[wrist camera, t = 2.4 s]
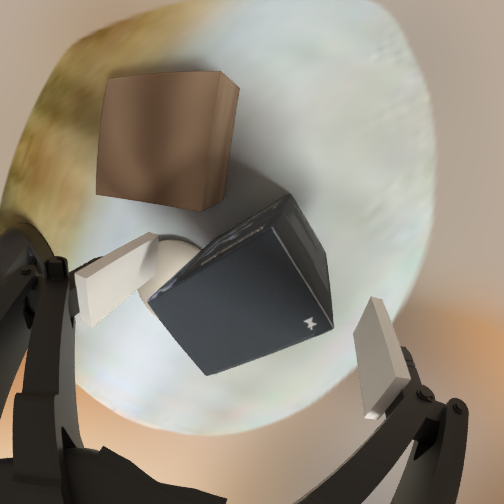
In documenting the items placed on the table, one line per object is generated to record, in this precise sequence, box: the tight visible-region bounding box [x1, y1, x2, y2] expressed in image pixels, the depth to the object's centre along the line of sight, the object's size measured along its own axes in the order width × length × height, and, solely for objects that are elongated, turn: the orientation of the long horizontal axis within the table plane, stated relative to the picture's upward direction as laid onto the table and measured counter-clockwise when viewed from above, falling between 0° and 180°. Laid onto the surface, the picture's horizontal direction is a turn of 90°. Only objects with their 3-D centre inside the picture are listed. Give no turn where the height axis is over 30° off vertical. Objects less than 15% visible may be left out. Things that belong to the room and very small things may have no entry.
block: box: [96, 71, 240, 212], centre depth 18 cm, size 9×9×5 cm
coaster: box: [137, 239, 201, 319], centre depth 25 cm, size 9×9×1 cm
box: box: [147, 194, 334, 376], centre depth 17 cm, size 8×6×11 cm
